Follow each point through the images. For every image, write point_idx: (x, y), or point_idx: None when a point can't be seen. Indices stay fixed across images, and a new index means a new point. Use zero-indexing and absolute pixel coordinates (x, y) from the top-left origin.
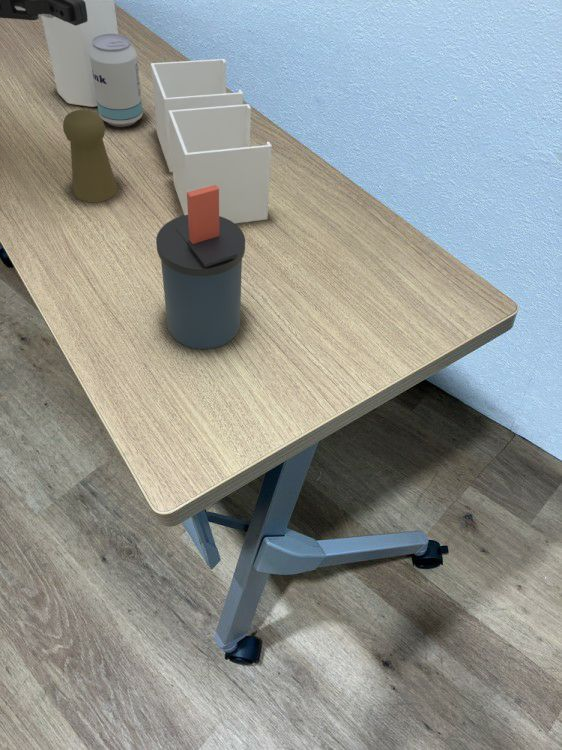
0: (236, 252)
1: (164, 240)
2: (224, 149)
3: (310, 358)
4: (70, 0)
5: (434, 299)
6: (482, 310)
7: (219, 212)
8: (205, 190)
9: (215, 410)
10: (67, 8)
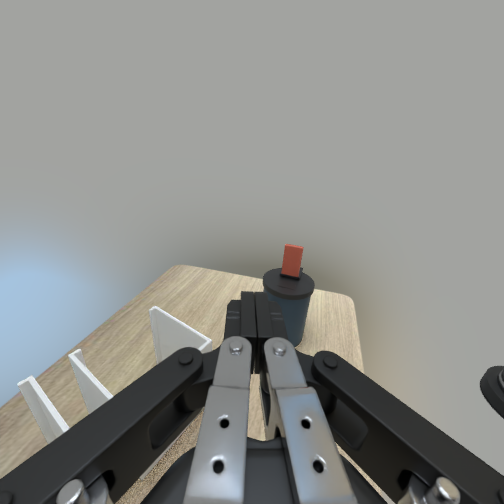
0: (280, 269)
1: (306, 288)
2: (182, 324)
3: None
4: (261, 299)
5: (187, 279)
6: (183, 268)
7: None
8: (293, 245)
9: (311, 304)
10: (275, 301)
